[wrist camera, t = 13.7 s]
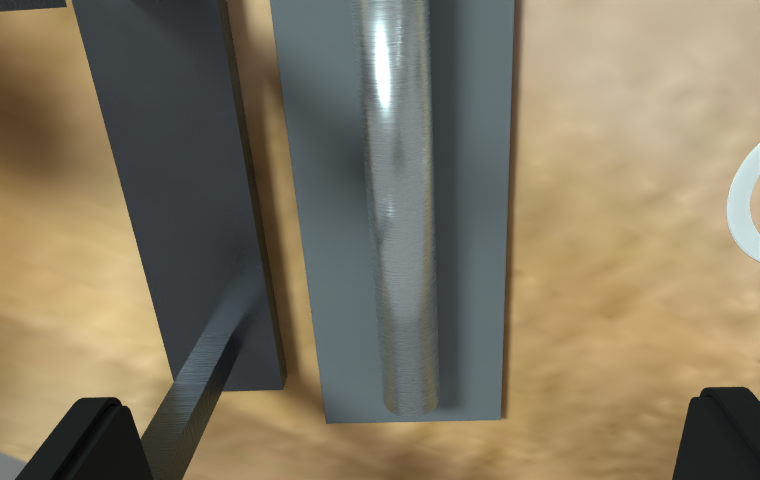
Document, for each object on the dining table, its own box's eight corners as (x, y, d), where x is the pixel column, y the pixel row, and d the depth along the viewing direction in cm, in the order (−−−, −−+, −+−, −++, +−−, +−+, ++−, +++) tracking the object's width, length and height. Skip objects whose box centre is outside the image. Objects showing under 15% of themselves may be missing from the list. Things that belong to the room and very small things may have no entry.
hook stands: (206, -120, 22) (-189, -331, 7) (287, 376, 32) (187, 706, 17) (59, -108, 22) (-594, -284, 8) (184, 378, 32) (1, 703, 18)
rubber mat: (519, -246, 20) (522, -252, 19) (498, 412, 32) (500, 419, 32) (244, -220, 20) (239, -226, 20) (327, 416, 33) (326, 423, 32)
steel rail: (345, -135, 21) (334, -152, 18) (425, -142, 21) (426, -161, 18) (384, 379, 31) (380, 417, 28) (438, 378, 31) (440, 416, 28)
